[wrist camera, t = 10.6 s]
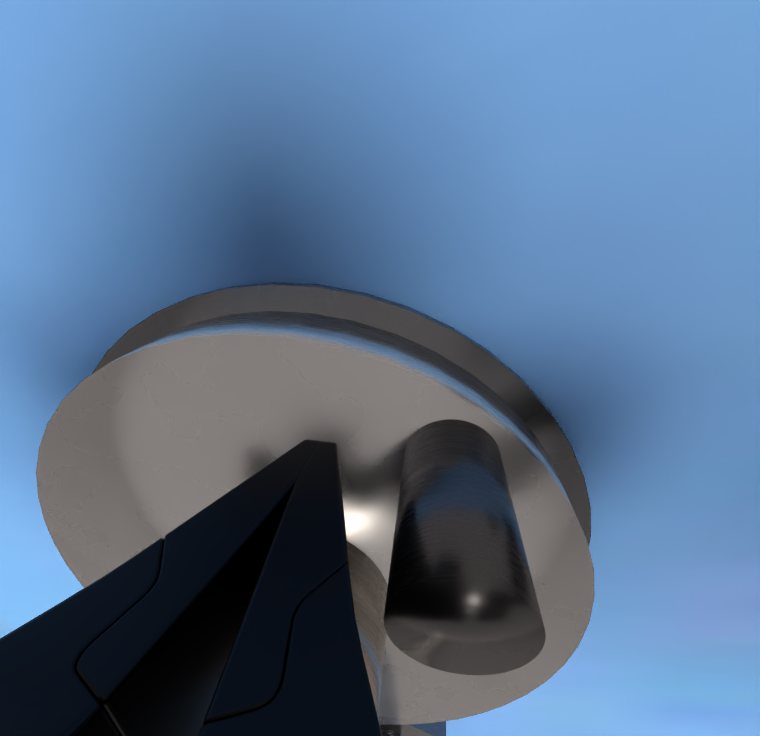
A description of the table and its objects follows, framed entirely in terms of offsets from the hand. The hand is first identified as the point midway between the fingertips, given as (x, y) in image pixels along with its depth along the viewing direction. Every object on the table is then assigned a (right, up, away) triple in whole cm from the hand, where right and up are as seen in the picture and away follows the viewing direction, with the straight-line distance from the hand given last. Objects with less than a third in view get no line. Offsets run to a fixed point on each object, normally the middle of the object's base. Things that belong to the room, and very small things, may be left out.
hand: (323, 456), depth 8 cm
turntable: (-1, -5, +7) cm, 8 cm away
